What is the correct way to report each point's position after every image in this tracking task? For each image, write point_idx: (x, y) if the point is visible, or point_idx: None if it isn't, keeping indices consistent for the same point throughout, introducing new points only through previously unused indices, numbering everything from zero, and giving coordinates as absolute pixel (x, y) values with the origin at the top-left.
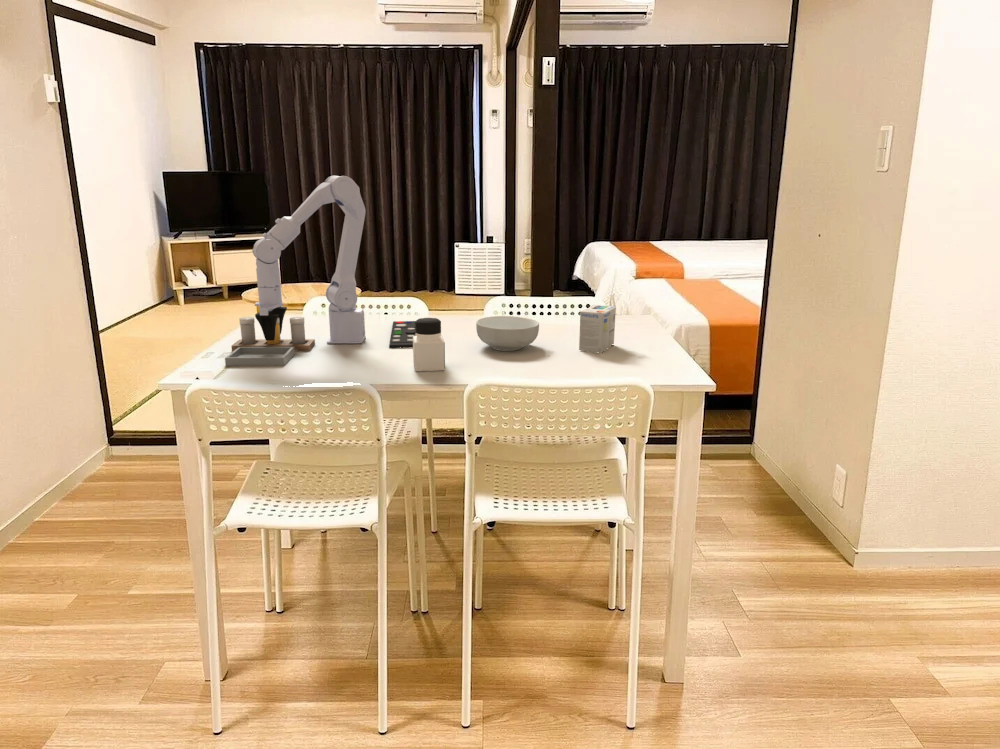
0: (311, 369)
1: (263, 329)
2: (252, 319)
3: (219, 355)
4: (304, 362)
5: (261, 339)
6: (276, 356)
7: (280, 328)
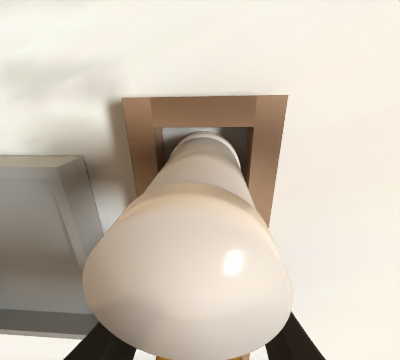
0: (3, 350)
1: (92, 337)
2: (153, 347)
3: (45, 58)
4: (52, 337)
5: (267, 216)
6: (63, 287)
7: (267, 345)
